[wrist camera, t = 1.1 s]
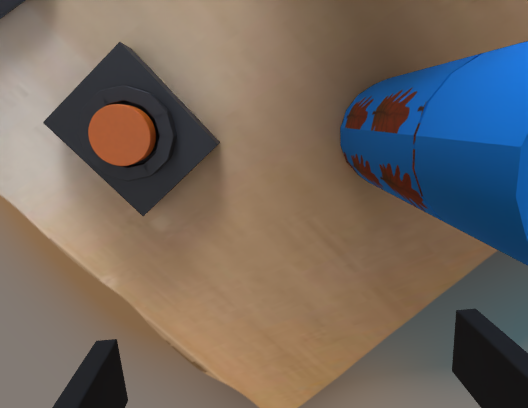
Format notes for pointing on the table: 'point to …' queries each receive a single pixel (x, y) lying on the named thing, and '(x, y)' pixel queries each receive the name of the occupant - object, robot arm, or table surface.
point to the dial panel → (8, 6)
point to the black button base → (159, 111)
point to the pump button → (121, 134)
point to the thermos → (451, 143)
